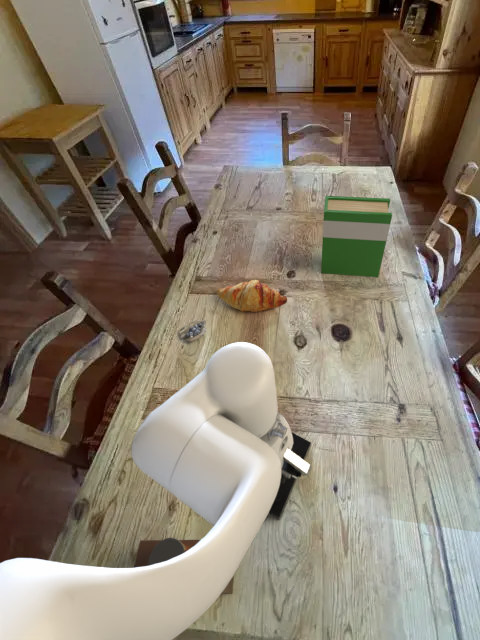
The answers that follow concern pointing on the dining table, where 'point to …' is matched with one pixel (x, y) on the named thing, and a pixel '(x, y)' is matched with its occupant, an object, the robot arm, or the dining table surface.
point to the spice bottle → (167, 550)
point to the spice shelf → (149, 545)
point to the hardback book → (354, 235)
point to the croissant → (251, 296)
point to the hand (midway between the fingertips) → (260, 457)
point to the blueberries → (193, 331)
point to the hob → (285, 490)
